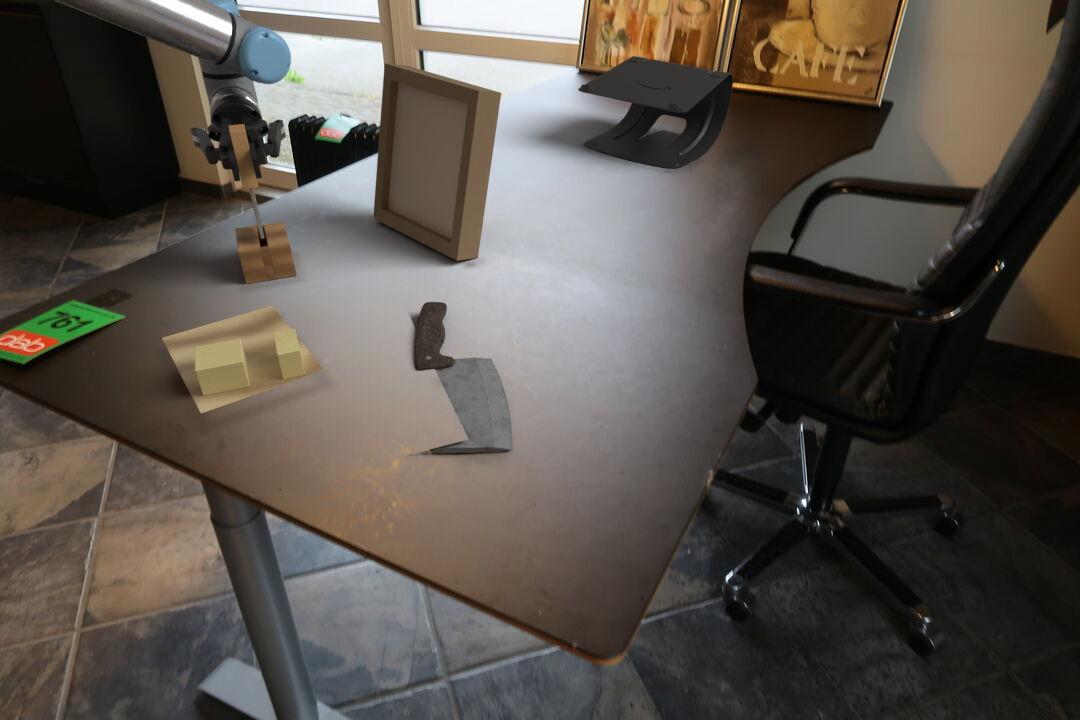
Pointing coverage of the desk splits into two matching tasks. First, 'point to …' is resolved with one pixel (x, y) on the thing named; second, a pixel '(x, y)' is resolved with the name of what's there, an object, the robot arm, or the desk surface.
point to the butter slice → (289, 354)
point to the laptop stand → (662, 110)
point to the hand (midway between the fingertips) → (246, 169)
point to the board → (257, 349)
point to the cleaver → (464, 388)
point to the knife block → (265, 253)
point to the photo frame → (435, 158)
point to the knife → (245, 166)
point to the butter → (221, 367)
